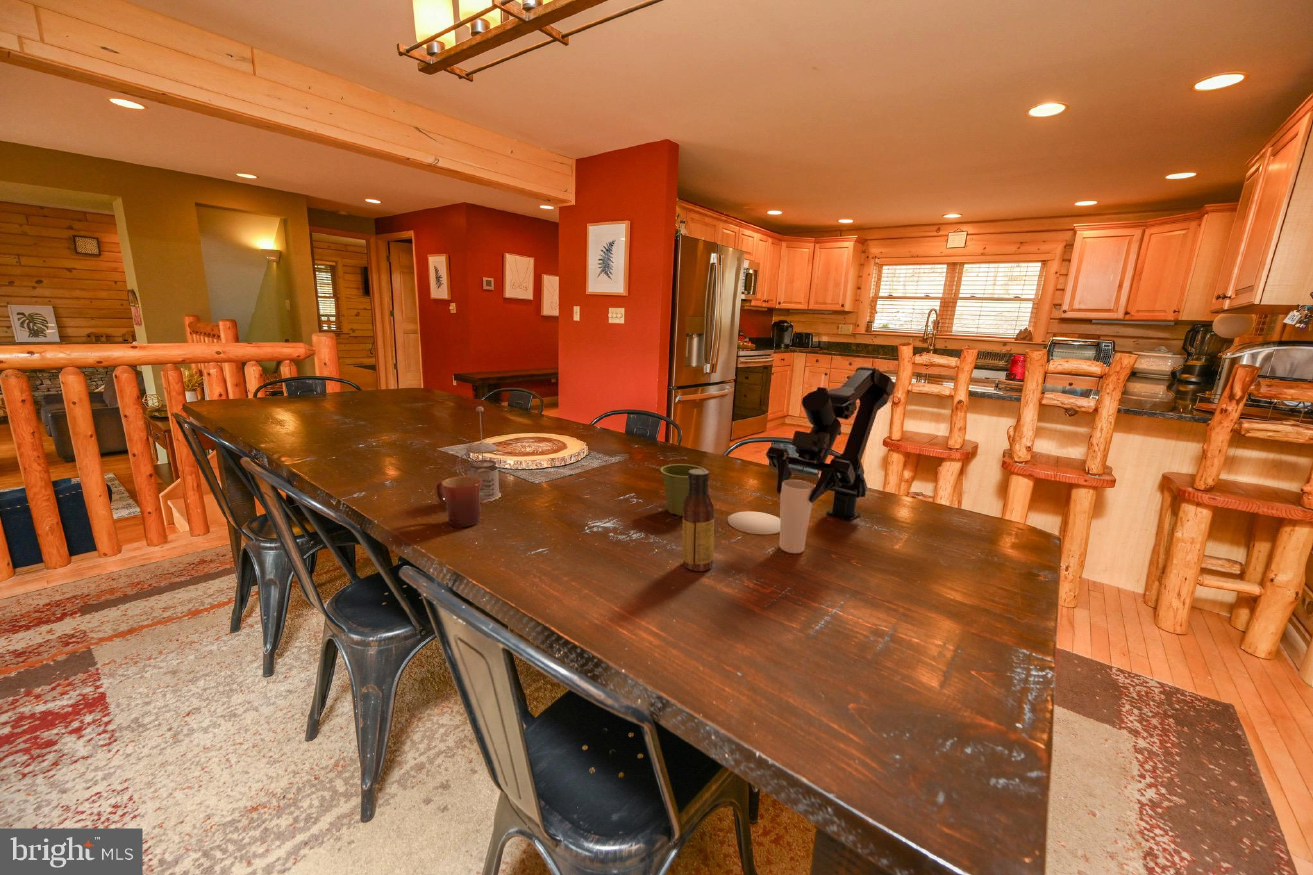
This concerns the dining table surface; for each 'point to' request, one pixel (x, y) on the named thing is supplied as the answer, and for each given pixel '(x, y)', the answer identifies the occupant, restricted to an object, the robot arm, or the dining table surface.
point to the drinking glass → (794, 514)
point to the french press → (480, 448)
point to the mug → (461, 500)
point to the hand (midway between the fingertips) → (793, 497)
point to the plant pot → (677, 485)
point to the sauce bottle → (698, 523)
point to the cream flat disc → (755, 522)
